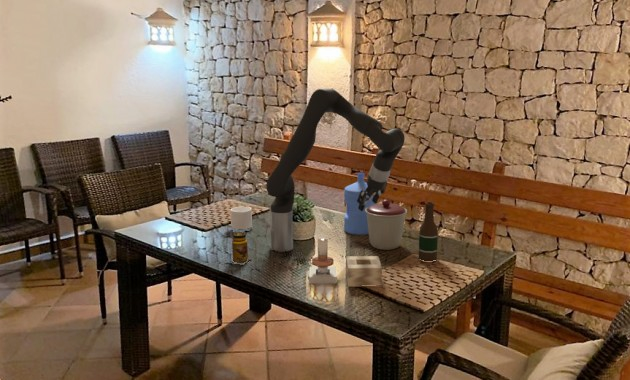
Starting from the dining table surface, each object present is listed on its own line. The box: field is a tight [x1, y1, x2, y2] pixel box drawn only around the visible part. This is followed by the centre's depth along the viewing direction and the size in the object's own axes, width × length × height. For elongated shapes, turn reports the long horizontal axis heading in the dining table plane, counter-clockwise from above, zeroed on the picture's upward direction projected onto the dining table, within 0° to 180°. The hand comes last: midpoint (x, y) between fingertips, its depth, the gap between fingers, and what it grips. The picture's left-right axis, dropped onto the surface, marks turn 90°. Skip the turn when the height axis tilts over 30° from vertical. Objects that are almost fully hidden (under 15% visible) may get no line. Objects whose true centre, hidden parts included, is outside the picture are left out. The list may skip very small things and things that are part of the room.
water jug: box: [343, 172, 378, 236], centre depth 253 cm, size 16×16×28 cm
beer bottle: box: [418, 201, 439, 261], centre depth 215 cm, size 8×8×24 cm
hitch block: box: [345, 255, 383, 287], centre depth 197 cm, size 12×12×7 cm
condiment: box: [231, 232, 249, 263], centre depth 216 cm, size 7×8×12 cm
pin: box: [311, 237, 334, 275], centre depth 198 cm, size 8×8×15 cm
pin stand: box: [308, 266, 338, 285], centre depth 200 cm, size 10×10×2 cm
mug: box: [230, 206, 253, 229], centre depth 259 cm, size 13×10×10 cm
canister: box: [365, 199, 408, 251], centre depth 232 cm, size 18×18×21 cm
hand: (367, 205), depth 214 cm, fingers open, 8 cm apart
